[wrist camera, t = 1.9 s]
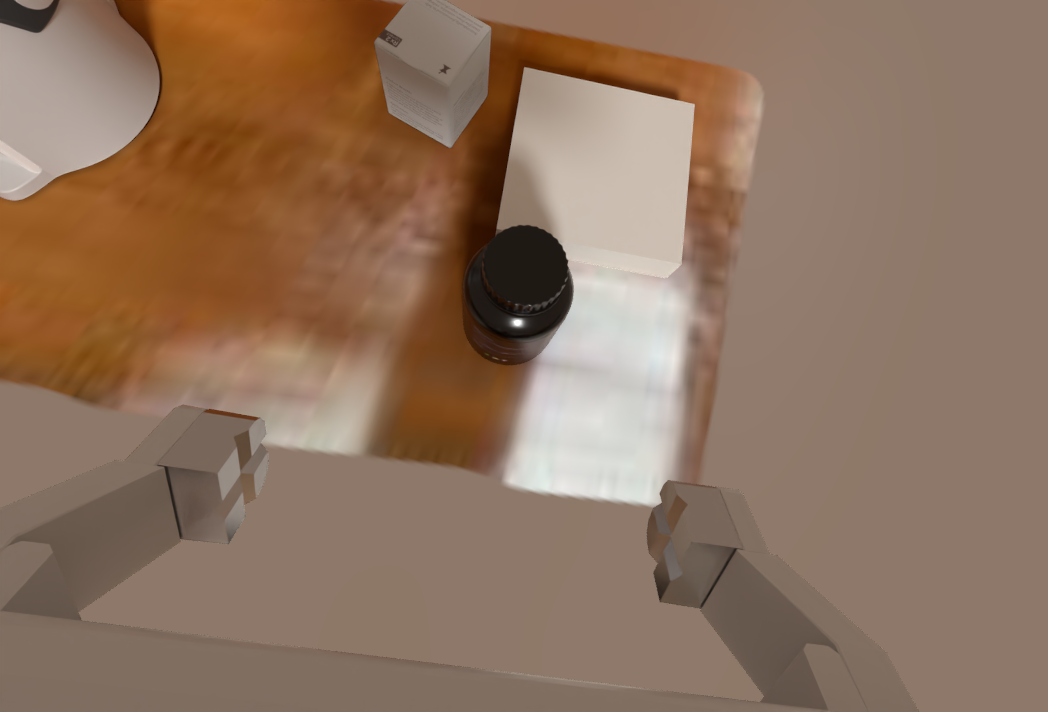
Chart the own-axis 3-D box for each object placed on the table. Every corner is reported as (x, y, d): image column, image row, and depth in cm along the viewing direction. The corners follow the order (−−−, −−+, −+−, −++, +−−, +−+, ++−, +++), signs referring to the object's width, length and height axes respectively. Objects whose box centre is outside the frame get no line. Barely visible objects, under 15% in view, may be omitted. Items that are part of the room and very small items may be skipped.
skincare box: (488, 97, 45) (494, 25, 38) (450, 151, 43) (449, 87, 36) (425, 60, 45) (420, -19, 38) (385, 113, 43) (371, 41, 36)
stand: (493, 245, 42) (496, 228, 39) (519, 93, 45) (524, 67, 42) (666, 278, 43) (681, 264, 40) (679, 127, 47) (694, 104, 44)
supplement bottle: (478, 268, 42) (487, 188, 30) (562, 297, 42) (603, 228, 30) (449, 351, 40) (446, 299, 28) (537, 380, 40) (570, 341, 29)
